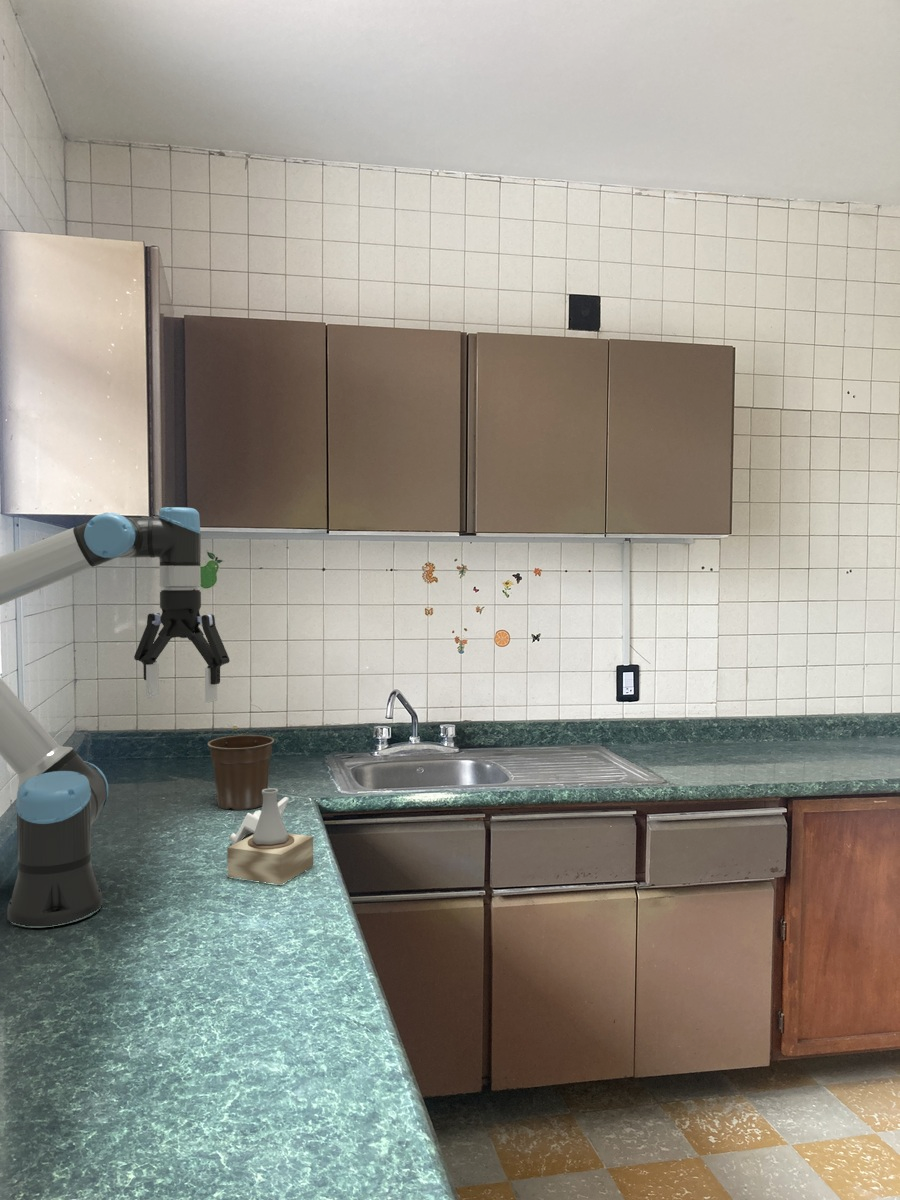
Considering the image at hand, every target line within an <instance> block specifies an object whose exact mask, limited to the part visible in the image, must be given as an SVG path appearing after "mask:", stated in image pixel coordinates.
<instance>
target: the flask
mask: <svg viewBox="0 0 900 1200" xmlns="http://www.w3.org/2000/svg"><path fill="white" fill-rule="evenodd" d="M278 793H279V789H278V788H274V787H273V788H271V787H268V789H263V790H262V794H263V805H262V806H261V810H260V811H261V814H260V817H259V820H258V823H257V826H256V829H255V832H254V833H253V834H254V835H253V834H252V835H253V838H252V841H253V842H254V843H256V844H263V845H272V844H278V843H284V842H286V841H287V840H288V838H289V836H288V831H287V828H286V826H285V823H284V821H283V818H282V816H281V815H280V812H279V808H278Z"/></svg>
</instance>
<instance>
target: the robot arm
mask: <svg viewBox="0 0 900 1200" xmlns="http://www.w3.org/2000/svg"><path fill="white" fill-rule="evenodd" d="M200 518H201V517H200V513H199V512H198V510H197V509H195V508H193V507H185V506H184V507H183V506H182V507H179V506H178V507H173V506H172V507H170V506H169V507H162V508H160V509H159V510H158V515H157V517H150V518H147V517H126V516H123V515H122V514H120V513H116V512H103V513H101V514H100V513H99V514H98V515H95V516H93V517H92V518H91V519H90V520H89V521H87V522H83V523H82V524H79V525H78V526H77V525H76V526H75V527H72V528H69V529H65V530H64V531H61V532H58V533H57V534H53V535H51V536H49V537H46V538H44V539H41V540H38V541H36V542H34V543H32V544H29V545H26V546H23V547H22V548H18V549H17V550H13V551H11V552H9V553H7V554H4V555H1V556H0V606H1V605H4V604H6V603H8V602H11V601H14V600H16V599H18V598H22V597H23V596H26V595H29V594H31V593H33V592H35V591H38V590H40V589H42V588H45V587H48V586H50V585H53V584H55V583H57V582H60V581H63V580H64V579H67V578H69V577H72V576H75V575H77V574H79V573H82V572H84V571H86V570H87V571H88V570H89V569H92V568H94V567H96V566H100V565H103V564H105V563H107V562H110V561H112V560H114V559H119V558H121V559H123V558H126V559H127V558H130V559H131V558H133V559H134V558H153V559H154V558H158V559H159V587H160V588H162V589H161V590H160V591H159V608H160V609H161V613H160V612H154V613H148V614H147V617H146V619H147V620H146V627H145V628H144V632H143V633H142V636H141V638H140V641H139V644H138V646H137V648H136V651H135V653H134V656H133V657H134V658H133V659H134V660H135V661H139V662H141V663H142V666H143V679H144V681H145V684H146V686H145V687H146V688H145V689H146V692H145V693H146V695H145V696H146V699H149V700H150V699H155V698H159V697H160V682H159V681H160V677H159V676H160V675H159V674H160V673H159V672H160V670H159V663H157V659H158V658H159V657H160V655H161V654H162V652H163V651H164V649H165V648H166V646H167V645H168V644H169V642H170V641H171V639H172V638H173V639H175V638H180V639H186V638H187V639H188V640H189V641H190V642H191V643H192V644H193V645H194V648H196V650H197V651H198V653H199V654H200V655H201V657H202V659H203V660H204V662H205V663H206V664H207V666H206V667H204V688H205V689H204V692H205V693H204V700H205V701H204V702H205V703H209V704H210V703H212V702H213V703H214V702H216V701H218V685H219V684H220V683H221V667H222V666H223V665H225V664H229V663H230V657H229V655H228V652H227V649H226V647H225V645H224V643H223V641H222V639H221V636H220V633H219V632H218V628H217V626H216V619H215V615H214V614H202V615H200V614H201V613H200V609H201V607H202V592H201V591H200V589H198V588H200V587H201V585H202V580H201V559H202V558H201V555H202V554H201V553H202V552H201V549H202V548H201V546H202V545H201V542H202V541H201V538H202V537H201V535H202V532H201V522H200V521H201V519H200ZM161 625H162V626H163V627H162V628H161V630H160V631H159V629H160V626H161ZM199 626H201V627H202V630H203V631H202V630H201V628H200V627H199ZM158 632H159V633H158ZM157 635H158V636H157ZM204 635H205V636H204ZM0 757H2V759H3V760H4V761H5V762H6V764H7V765H9V767H10V768H11V769H12V770H13V771H14V772H15V774H16V775H17V776H18V787H17V793H16V800H15V811H16V830H17V831H16V835H17V836H16V837H17V838H16V839H17V870H18V871H17V875H16V879H15V882H14V886H13V888H12V889H13V890H12V893H11V897H10V899H9V901H8V903H7V920H8V919H9V920H10V921H11V922H13V923H16V924H20V925H25V926H52V925H58V924H62V923H67V922H70V921H73V920H76V919H79V918H82V917H84V916H86V915H88V914H90V913H92V912H94V911H96V910H97V909H99V908H100V907H101V905H102V906H103V892H102V889H101V887H99V884H98V880H97V877H96V873H95V871H94V868H93V866H92V850H91V849H92V846H91V843H92V841H91V839H92V838H91V827H92V825H93V824H94V822H95V821H96V820H97V819H98V818H99V817H100V815H101V814H102V812H103V811H104V809H105V808H106V804H107V802H108V797H109V784H108V781H107V778H106V776H105V774H104V772H103V770H101V769H100V768H99V767H98V766H96V765H95V764H93V763H91V762H88V761H84V760H83V758H82V757H81V756H80V755H79V754H78V753H77V752H76V750H75V749H74V748H73V747H72V746H62V745H59V744H58V743H57V741H56V740H55V739H54V738H53V737H52V735H51V734H50V733H49V732H48V731H47V730H46V729H45V727H44V726H43V725H42V724H41V723H40V722H39V721H38V719H37V718H36V717H35V716H34V715H33V713H32V712H31V711H30V710H29V709H28V708H27V707H26V706H25V704H24V703H23V702H22V701H21V700H20V698H19V696H17V695H16V694H15V693H14V692H13V690H12V689H11V688H10V687H9V686H8V685H7V684H6V682H5V681H4V679H2V677H0Z"/></svg>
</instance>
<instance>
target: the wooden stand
mask: <svg viewBox="0 0 900 1200" xmlns="http://www.w3.org/2000/svg"><path fill="white" fill-rule="evenodd" d="M287 833H288V832H287ZM253 835H254V833H253V834H251V835H248V836H246V837H245V838H244V839H243V840H241V841H239V842H237V843H235V844H231V845H229V846H228V847H227V848H226V849H227V850H226V851H227V853H226V854H227V862H226V864H227V878H228V877H233V878H241V879H247V880H253V881H259V882H266V883H274V884H283V883H285V882H286V881H288V880H290V879H292V878H294V877H295V876H297V875H298V876H300V875H301V874H300V873H302V872H303V873H305V872H306V871H308V870H309V869H311V868H313V867H314V836H310V835H302V834H295V833H288V836H289V838H288V840H287V841H286V842H284V843H278V844H272V845H263V844H256V843H254V842H253V841H252V838H253ZM312 866H313V867H312ZM307 869H308V870H307ZM305 870H306V871H305ZM304 871H305V872H304ZM303 873H302V874H303ZM299 874H300V875H299ZM298 876H297V877H298ZM295 878H296V877H295ZM295 878H294V879H295ZM292 880H293V879H292ZM290 881H291V880H290Z"/></svg>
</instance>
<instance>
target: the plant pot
mask: <svg viewBox="0 0 900 1200" xmlns="http://www.w3.org/2000/svg"><path fill="white" fill-rule="evenodd" d="M274 742H275V739H274V738H273V737H271V736H266V735H261V734H260V735H259V734H238V735H232V736H231V735H227V736H222V737H217V738H215V739H211V740H210V741H208V742H207V746H208V748H209V751H210V759H211V761H212V767H213V773H214V781H215V782H214V783H215V791H216V792H215V793H216V799H217V806H218V807H219V808H220V807H221V808H220V809H223V810H227V809H228V810H230V809H233V810H234V811H245V810H247V809H248V810H253V809H255V808H259V807H262V805H263V794H262V790H263V789H269V787H268V786H269V774H270V761H271V756H272V753H273V752H272V751H273V750H272V749H273V744H274Z"/></svg>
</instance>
